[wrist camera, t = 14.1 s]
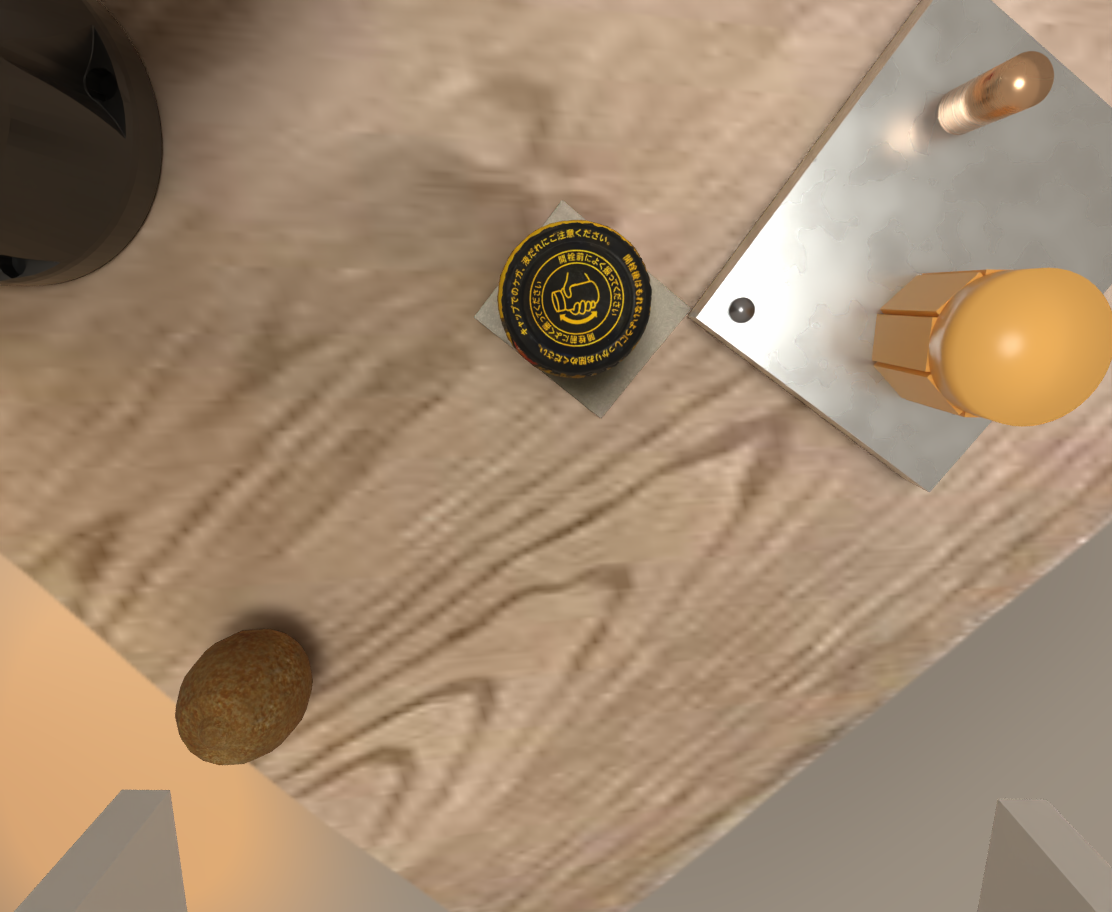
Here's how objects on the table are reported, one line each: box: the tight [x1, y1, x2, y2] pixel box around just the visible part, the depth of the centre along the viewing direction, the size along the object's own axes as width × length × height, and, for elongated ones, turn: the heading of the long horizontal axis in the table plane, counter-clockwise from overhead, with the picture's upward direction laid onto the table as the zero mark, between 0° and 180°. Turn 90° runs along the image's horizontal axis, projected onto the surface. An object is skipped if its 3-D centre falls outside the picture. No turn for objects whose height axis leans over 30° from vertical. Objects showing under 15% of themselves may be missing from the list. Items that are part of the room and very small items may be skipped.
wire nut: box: [872, 268, 1112, 426], centre depth 29 cm, size 6×6×7 cm
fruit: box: [175, 629, 313, 765], centre depth 36 cm, size 6×6×8 cm
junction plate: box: [688, 0, 1112, 492], centre depth 31 cm, size 15×18×7 cm
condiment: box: [474, 200, 691, 418], centre depth 29 cm, size 7×8×12 cm
